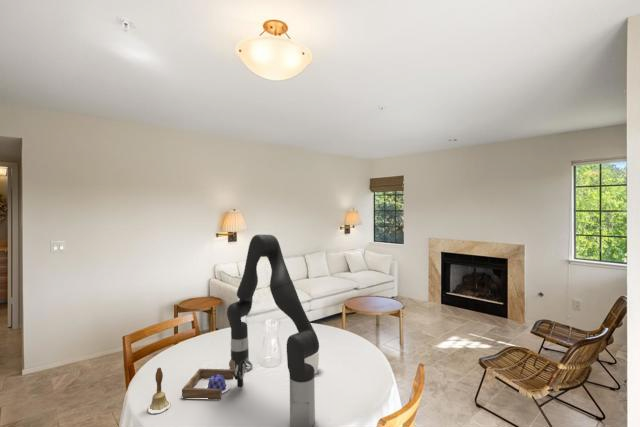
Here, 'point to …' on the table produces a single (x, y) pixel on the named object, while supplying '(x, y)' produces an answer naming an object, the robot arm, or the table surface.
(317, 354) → the white cup
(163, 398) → the hand bell
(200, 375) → the corral
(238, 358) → the robot arm
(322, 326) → the table surface
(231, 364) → the ceramic mug
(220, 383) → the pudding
